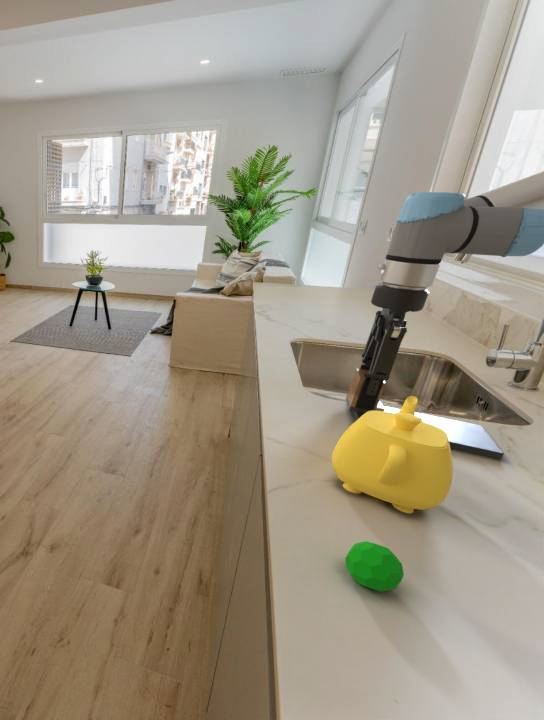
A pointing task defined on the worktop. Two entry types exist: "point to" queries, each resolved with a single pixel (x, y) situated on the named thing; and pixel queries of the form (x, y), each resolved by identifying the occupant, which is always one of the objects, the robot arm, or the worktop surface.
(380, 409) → the white flat block
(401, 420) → the teapot
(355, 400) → the brown block
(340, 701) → the worktop surface
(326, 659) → the worktop surface
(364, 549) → the polyhedron
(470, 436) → the slate board
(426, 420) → the white small block
